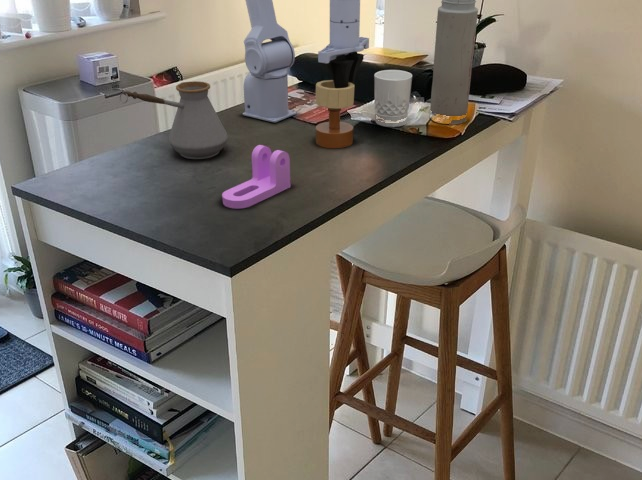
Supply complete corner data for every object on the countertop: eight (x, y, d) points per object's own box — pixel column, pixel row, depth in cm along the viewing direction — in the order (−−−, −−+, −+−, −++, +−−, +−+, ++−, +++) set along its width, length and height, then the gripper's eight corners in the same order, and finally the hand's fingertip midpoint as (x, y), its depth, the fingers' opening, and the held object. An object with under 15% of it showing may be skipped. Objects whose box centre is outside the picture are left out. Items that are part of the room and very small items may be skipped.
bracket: (267, 179, 137) (265, 142, 133) (290, 187, 134) (289, 149, 130) (216, 202, 129) (212, 163, 125) (239, 211, 126) (236, 171, 122)
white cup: (410, 128, 159) (413, 80, 154) (373, 128, 160) (375, 80, 154) (407, 116, 166) (410, 69, 160) (371, 116, 166) (373, 69, 160)
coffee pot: (204, 138, 155) (196, 62, 147) (240, 151, 149) (235, 73, 140) (115, 166, 143) (102, 85, 134) (151, 182, 136) (139, 98, 128)
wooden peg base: (308, 143, 152) (307, 109, 148) (329, 133, 157) (329, 99, 153) (339, 151, 149) (339, 116, 145) (360, 140, 154) (361, 106, 150)
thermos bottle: (467, 114, 167) (481, -26, 151) (465, 125, 160) (480, -19, 144) (430, 112, 168) (441, -27, 152) (427, 123, 162) (439, -20, 146)
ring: (308, 103, 148) (308, 85, 146) (330, 96, 153) (330, 78, 151) (339, 110, 144) (339, 91, 142) (360, 103, 149) (361, 84, 147)
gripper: (340, 29, 135) (339, 105, 143) (383, 15, 145) (380, 87, 153) (308, 25, 139) (309, 99, 147) (352, 11, 148) (351, 82, 156)
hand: (343, 93), depth 150 cm, fingers closed on ring
